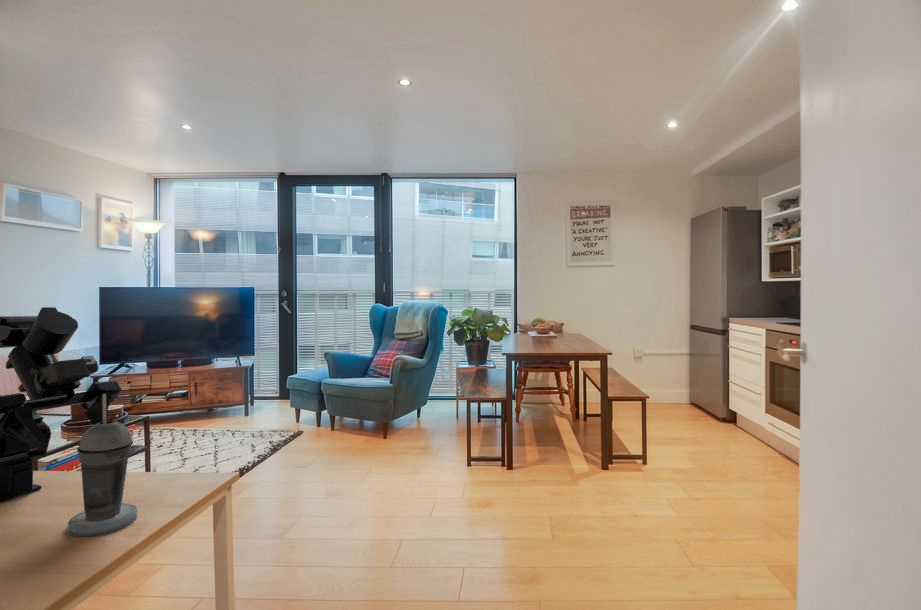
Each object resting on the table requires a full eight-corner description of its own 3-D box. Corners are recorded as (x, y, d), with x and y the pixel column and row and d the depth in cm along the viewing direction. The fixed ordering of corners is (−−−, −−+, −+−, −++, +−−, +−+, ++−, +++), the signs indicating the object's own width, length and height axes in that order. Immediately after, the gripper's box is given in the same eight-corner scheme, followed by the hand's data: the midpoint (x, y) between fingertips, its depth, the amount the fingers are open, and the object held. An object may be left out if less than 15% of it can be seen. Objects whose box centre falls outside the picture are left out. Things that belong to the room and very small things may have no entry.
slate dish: (53, 531, 72) (53, 523, 72) (110, 506, 80) (110, 499, 80) (95, 540, 69) (96, 532, 69) (149, 514, 78) (150, 507, 78)
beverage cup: (87, 530, 70) (91, 401, 70) (65, 517, 73) (70, 395, 73) (138, 512, 76) (143, 394, 76) (117, 501, 80) (121, 389, 80)
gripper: (-10, 346, 70) (31, 425, 67) (117, 338, 88) (154, 401, 84) (-40, 391, 73) (-2, 470, 69) (89, 375, 91) (124, 437, 87)
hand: (77, 441), depth 77 cm, fingers open, 9 cm apart
